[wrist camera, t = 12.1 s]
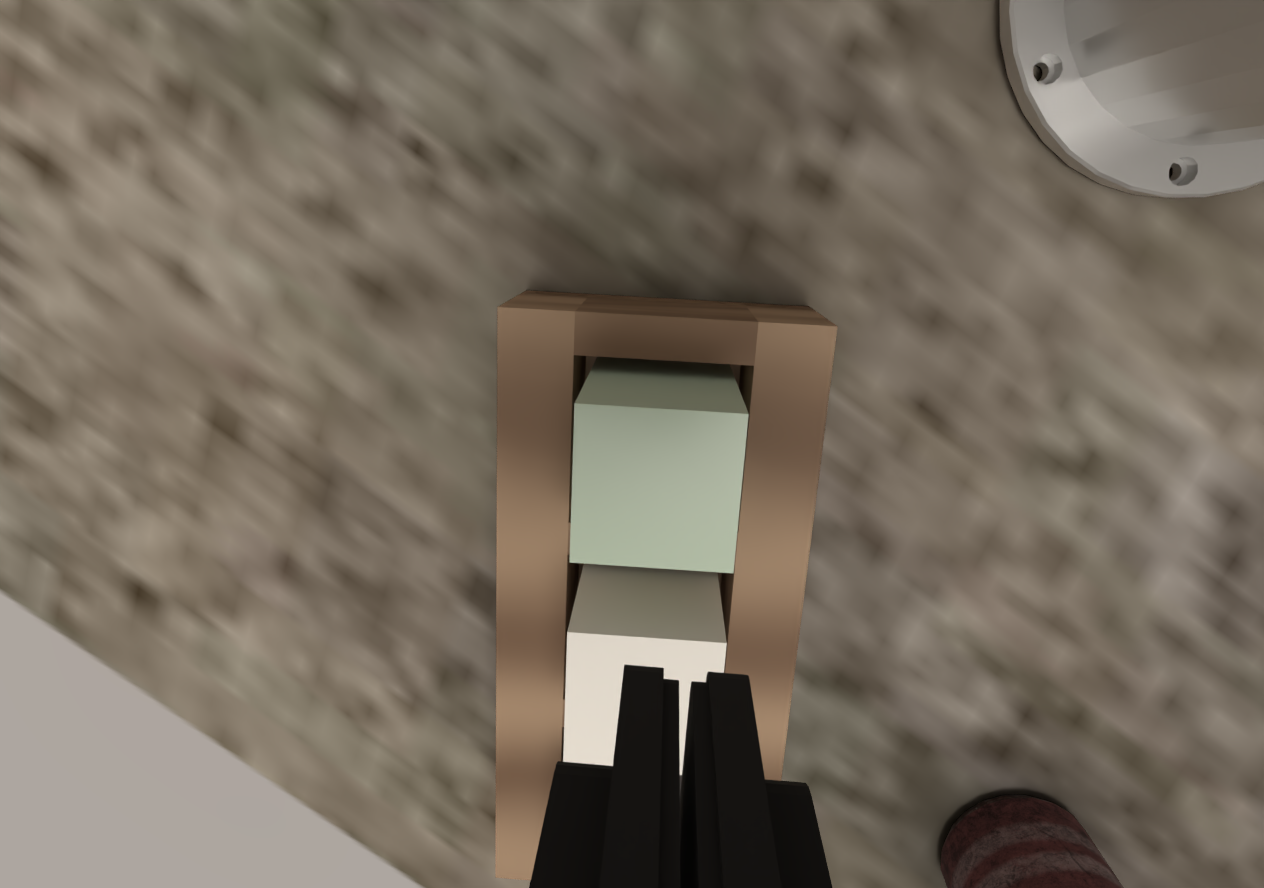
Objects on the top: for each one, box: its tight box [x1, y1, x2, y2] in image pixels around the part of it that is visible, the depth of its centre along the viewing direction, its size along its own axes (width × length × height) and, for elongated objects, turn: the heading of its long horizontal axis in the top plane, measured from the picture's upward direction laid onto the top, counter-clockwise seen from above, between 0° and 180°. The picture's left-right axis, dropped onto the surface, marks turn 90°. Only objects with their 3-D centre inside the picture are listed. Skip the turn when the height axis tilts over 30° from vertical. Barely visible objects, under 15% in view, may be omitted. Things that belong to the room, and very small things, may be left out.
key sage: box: [569, 356, 749, 573], centre depth 24 cm, size 4×4×7 cm
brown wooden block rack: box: [496, 290, 838, 880], centre depth 29 cm, size 21×10×5 cm, turn 177°
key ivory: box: [563, 564, 727, 775], centre depth 26 cm, size 4×4×7 cm
